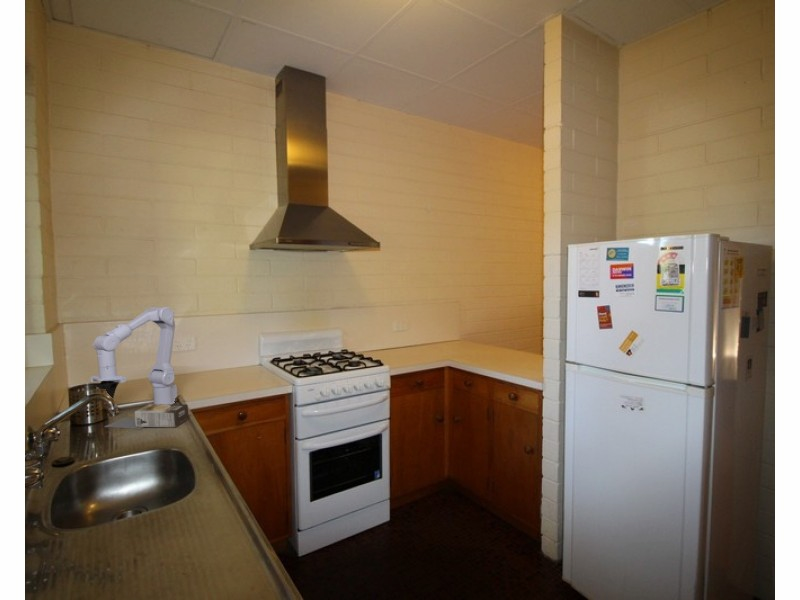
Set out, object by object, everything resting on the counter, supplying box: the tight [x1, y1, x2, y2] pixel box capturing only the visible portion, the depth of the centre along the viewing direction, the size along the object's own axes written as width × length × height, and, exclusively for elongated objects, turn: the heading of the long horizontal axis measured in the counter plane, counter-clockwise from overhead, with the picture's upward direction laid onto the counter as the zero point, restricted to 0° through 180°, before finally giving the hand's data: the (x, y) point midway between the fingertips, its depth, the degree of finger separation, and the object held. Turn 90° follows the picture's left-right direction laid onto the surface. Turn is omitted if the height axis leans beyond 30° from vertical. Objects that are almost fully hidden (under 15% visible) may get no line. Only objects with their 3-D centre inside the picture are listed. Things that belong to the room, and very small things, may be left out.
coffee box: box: [134, 403, 189, 428], centre depth 162 cm, size 9×6×16 cm
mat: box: [104, 417, 145, 430], centre depth 163 cm, size 9×16×1 cm, turn 80°
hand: (109, 399), depth 164 cm, fingers closed
